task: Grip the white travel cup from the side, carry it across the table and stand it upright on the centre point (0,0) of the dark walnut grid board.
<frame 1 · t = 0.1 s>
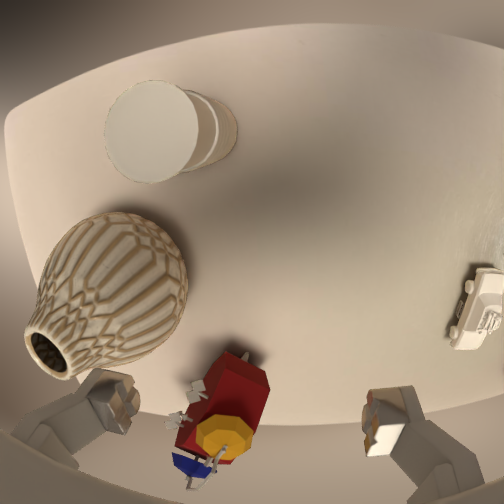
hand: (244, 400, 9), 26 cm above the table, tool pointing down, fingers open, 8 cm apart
alarm clock: (224, 368, 43), on the table
toy car: (471, 301, 34), on the table
white travel cup: (209, 131, 32), on the table
vase: (144, 260, 38), on the table
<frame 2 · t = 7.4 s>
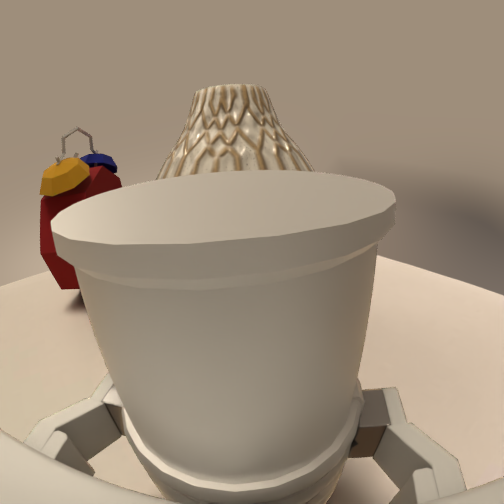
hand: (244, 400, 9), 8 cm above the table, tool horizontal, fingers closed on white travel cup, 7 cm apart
alarm clock: (110, 286, 36), on the table
vase: (244, 323, 28), on the table
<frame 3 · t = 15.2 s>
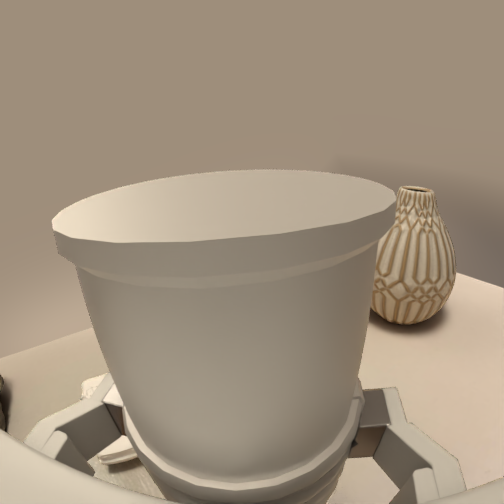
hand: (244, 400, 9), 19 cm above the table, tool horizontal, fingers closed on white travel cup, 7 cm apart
toy car: (117, 429, 27), on the table
vase: (400, 311, 46), on the table
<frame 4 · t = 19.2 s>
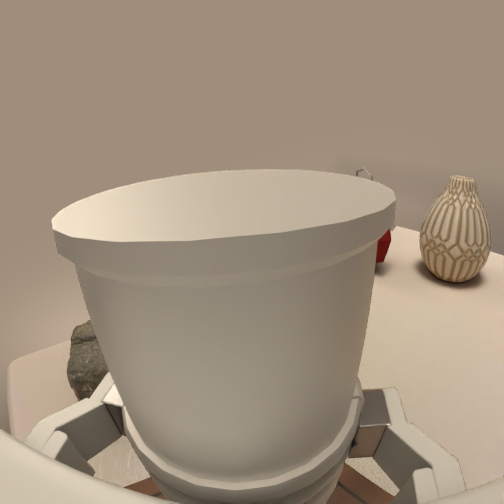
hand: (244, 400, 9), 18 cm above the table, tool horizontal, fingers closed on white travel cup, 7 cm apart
rock: (109, 387, 32), on the table
alarm clock: (364, 263, 63), on the table
vase: (449, 274, 55), on the table
when the fingers open (9 cm above the table, at t = 23.1 s): white travel cup stays where it is, resting on grid board.
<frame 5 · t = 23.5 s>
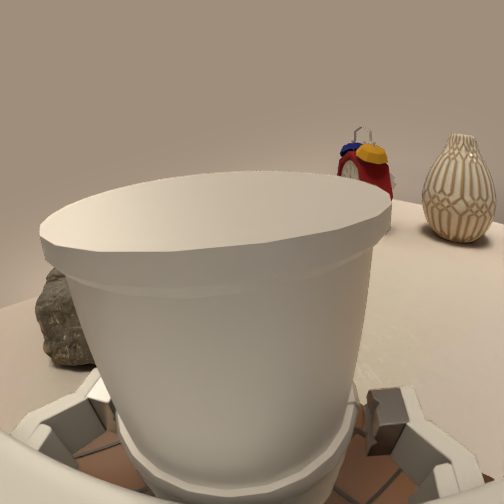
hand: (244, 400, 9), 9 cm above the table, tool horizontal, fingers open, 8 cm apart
rock: (83, 332, 29), on the table
alarm clock: (365, 226, 60), on the table
vase: (455, 237, 52), on the table
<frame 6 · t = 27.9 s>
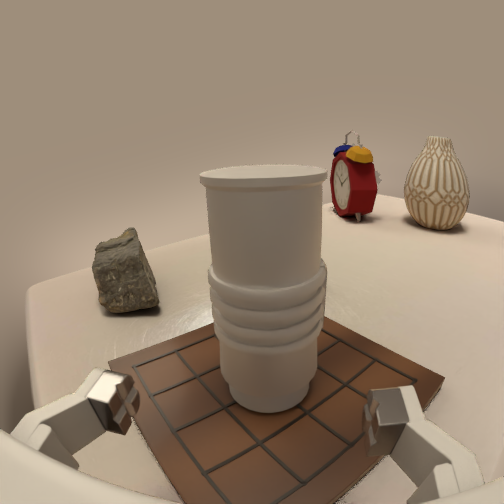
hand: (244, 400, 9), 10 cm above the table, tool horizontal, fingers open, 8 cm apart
rock: (127, 292, 39), on the table
alarm clock: (355, 216, 70), on the table
grid board: (270, 393, 22), on the table
white travel cup: (269, 385, 22), point 1 cm above the table, touching grid board
vase: (434, 225, 62), on the table
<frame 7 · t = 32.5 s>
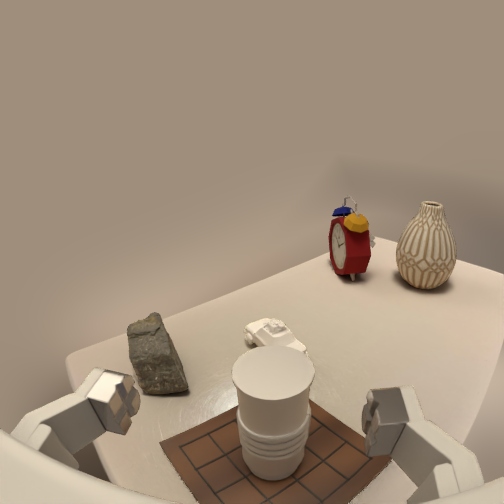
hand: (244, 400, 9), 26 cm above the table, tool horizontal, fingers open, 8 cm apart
rock: (157, 369, 47), on the table
alarm clock: (350, 273, 78), on the table
toy car: (274, 353, 51), on the table
grid board: (273, 464, 30), on the table
white travel cup: (273, 460, 29), point 1 cm above the table, touching grid board
vase: (421, 282, 70), on the table
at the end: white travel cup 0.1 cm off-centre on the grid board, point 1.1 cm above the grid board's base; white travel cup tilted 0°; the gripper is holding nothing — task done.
